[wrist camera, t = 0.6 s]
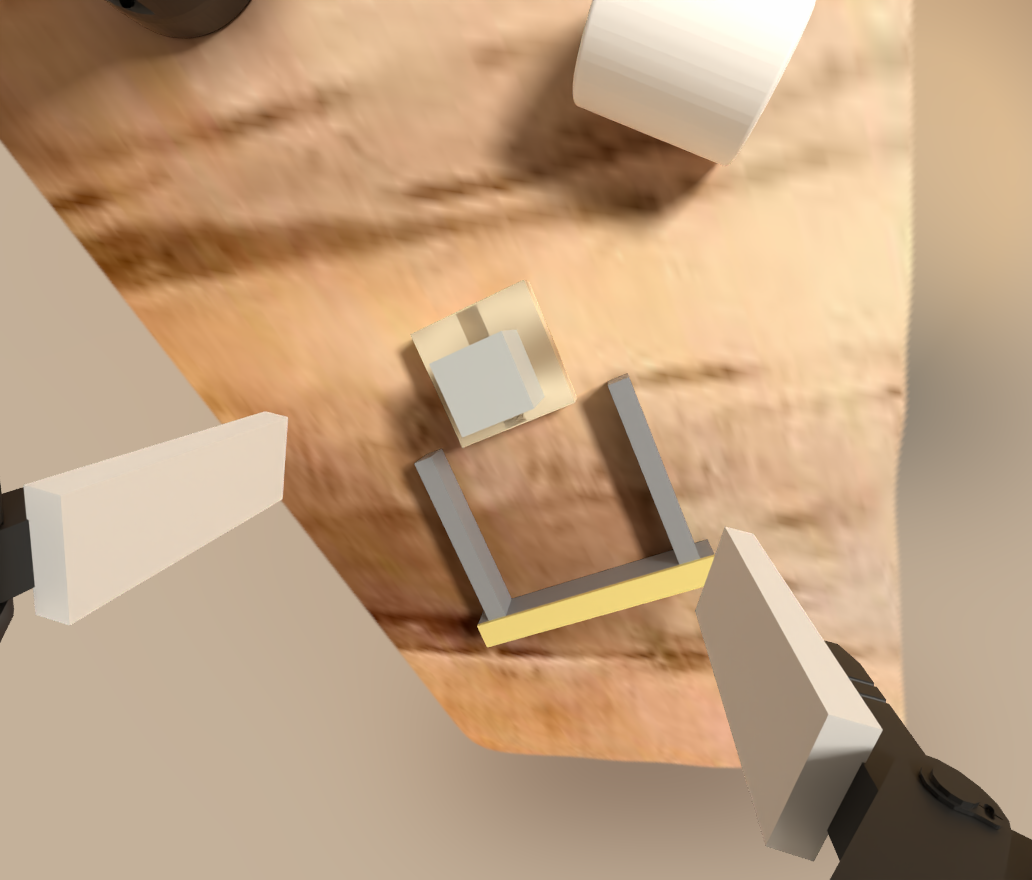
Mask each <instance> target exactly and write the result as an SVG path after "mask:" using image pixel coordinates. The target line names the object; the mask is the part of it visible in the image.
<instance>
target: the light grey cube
mask: <svg viewBox="0 0 1032 880" xmlns="http://www.w3.org/2000/svg"><path fill="white" fill-rule="evenodd" d="M429 365H430V367H431V370H432V372H433V374H434V376H435V379H436V381H437V383H438V385H439V387H440V390H441V392H442V394H443V396H444V398H445V401H446V403H447V405H448V407H449V409H450V412H451V414H452V416H453V418H454V421H455V423H456V425H457V427H458V429H459V432H460V434H461V436H462V438H463V437H465V436H467V435H470V434H472V433H475V432H477V431H480V430H482V429H485V428H487V427H490V426H492V425H495V424H497V423H500V422H502V421H505V420H507V419H509V418H512V417H514V416H517V415H519V414H522V413H524V412H527V411H529V410H532V409H534V408H535V407H536V406H537V405H538V404H539V402H540V401H541V400H542V399H543V398H544V397H545V396H544V393H543V391H542V389H541V386H540V384H539V382H538V379H537V377H536V374H535V372H534V370H533V367H532V365H531V363H530V360H529V358H528V355H527V353H526V351H525V348H524V346H523V344H522V341H521V339H520V336H519V334H518V332H517V329H516V330H505V331H500V332H498V333H496V334H493V335H491V336H489V337H487V338H485V339H482V340H480V341H478V342H476V343H474V344H471V345H469V346H467V347H465V348H463V349H461V350H458V351H456V352H454V353H452V354H450V355H447V356H445V357H443V358H441V359H439V360H436V361H434V362H432V363H430V364H429Z"/></svg>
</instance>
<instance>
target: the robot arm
mask: <svg viewBox="0 0 1032 880" xmlns="http://www.w3.org/2000/svg"><path fill="white" fill-rule="evenodd" d="M105 1H107V2H108V3H109V4H110V5H111V6H113V7H114V8H116V9H117V10H119V11H120V12H122V13H123V14H125V15H126V16H128V17H130V18H131V19H133V20H134V21H136V22H138V23H139V24H141V25H142V26H144V27H146V28H147V29H150V30H152V31H154V32H156V33H159V34H162V35H165V36H169V37H175V38H192V37H198V36H203V35H206V34H209V33H211V32H213V31H216V30H218V29H219V28H221V27H223V26H224V25H226V24H227V23H229V22H230V21H231V20H232V19H233V18H235V17H236V16H237V15H238V14H239V13H240V12H241V10H242V9H243V8H244V7H245V6H246V4H247V3H248V2H249V0H105ZM287 425H288V417H285V416H281V415H277V414H273V413H269V412H262V413H258V414H255V415H252V416H248V417H245V418H242V419H239V420H235V421H232V422H229V423H225V424H222V425H219V426H216V427H212V428H209V429H206V430H203V431H199V432H196V433H193V434H190V435H186V436H183V437H180V438H176V439H173V440H170V441H166V442H164V443H160V444H157V445H154V446H150V447H147V448H143V449H140V450H137V451H134V452H130V453H127V454H124V455H120V456H118V457H114V458H111V459H107V460H104V461H101V462H97V463H94V464H91V465H88V466H84V467H81V468H78V469H75V470H71V471H68V472H65V473H61V474H58V475H55V476H51V477H48V478H45V479H42V480H38V481H35V482H32V483H28V484H25V485H24V487H23V488H19V489H16V490H13V491H10V492H7V493H3V494H1V485H0V642H1V640H2V638H3V636H4V633H5V631H6V630H7V628H8V625H9V623H10V621H11V619H12V617H13V613H14V605H13V597H15V596H17V595H19V594H21V593H23V592H25V591H27V590H29V589H32V588H33V592H34V601H35V614H36V615H39V616H42V617H45V618H48V619H51V620H54V621H57V622H61V623H64V624H67V625H71V624H73V623H74V622H76V621H78V620H80V619H81V618H83V617H85V616H86V615H88V614H90V613H91V612H93V611H95V610H97V609H98V608H100V607H102V606H103V605H105V604H107V603H108V602H110V601H112V600H113V599H115V598H117V597H119V596H120V595H122V594H124V593H125V592H127V591H128V590H130V589H132V588H134V587H135V586H137V585H139V584H140V583H142V582H144V581H145V580H147V579H149V578H150V577H152V576H154V575H156V574H157V573H159V572H161V571H162V570H164V569H166V568H167V567H169V566H171V565H172V564H174V563H176V562H177V561H179V560H181V559H183V558H184V557H186V556H188V555H189V554H191V553H193V552H194V551H196V550H198V549H199V548H201V547H203V546H204V545H206V544H208V543H209V542H211V541H213V540H215V539H216V538H218V537H220V536H221V535H223V534H225V533H226V532H228V531H230V530H231V529H233V528H235V527H236V526H238V525H240V524H241V523H243V522H245V521H247V520H248V519H250V518H252V517H253V516H255V515H257V514H258V513H260V512H262V511H263V510H265V509H267V508H268V507H270V506H272V505H273V504H275V503H277V502H279V501H280V500H282V498H283V483H284V469H285V454H286V440H287ZM695 612H696V615H697V619H698V622H699V625H700V629H701V632H702V635H703V639H704V642H705V645H706V649H707V652H708V656H709V659H710V662H711V666H712V669H713V672H714V676H715V679H716V682H717V686H718V689H719V692H720V696H721V699H722V702H723V706H724V709H725V712H726V716H727V719H728V722H729V726H730V729H731V732H732V736H733V739H734V742H735V746H736V749H737V752H738V756H739V759H740V762H741V766H742V769H743V772H744V776H745V779H746V782H747V786H748V789H749V792H750V795H751V799H752V802H753V806H754V809H755V812H756V816H757V819H758V822H759V826H760V829H761V832H762V835H763V839H764V842H765V846H767V847H770V848H773V849H776V850H779V851H782V852H786V853H789V854H792V855H795V856H798V857H802V858H805V859H808V860H811V861H814V860H815V858H816V856H817V855H818V853H819V851H820V849H821V847H822V845H823V843H824V841H825V839H826V837H827V835H828V834H829V837H830V839H831V841H832V843H833V846H834V848H835V850H836V853H837V855H838V858H839V860H840V862H839V864H838V866H837V868H836V870H835V872H834V873H833V875H832V877H831V879H830V880H1032V840H1031V839H1029V838H1027V837H1025V836H1023V835H1021V834H1019V833H1017V832H1015V831H1013V830H1011V828H1010V823H1009V820H1008V819H1007V817H1006V816H1005V814H1004V813H1003V812H1002V810H1001V809H1000V807H999V806H998V804H997V803H995V801H994V800H993V799H992V798H991V797H990V796H989V795H988V794H987V793H986V792H984V790H983V789H981V788H980V787H979V786H978V785H977V784H975V783H974V782H973V781H971V780H970V779H968V778H967V777H966V776H965V775H963V774H962V773H961V772H959V771H958V770H956V769H954V768H952V767H950V766H949V765H947V764H945V763H943V762H941V761H940V760H938V759H935V758H932V757H929V756H926V755H925V753H924V752H923V751H922V749H921V748H920V747H919V745H918V744H917V742H916V741H915V739H914V738H913V737H912V735H911V734H910V732H909V731H908V730H907V728H906V727H905V726H904V724H903V723H902V721H901V720H900V719H899V717H898V716H897V714H896V713H895V712H894V710H893V709H892V707H891V706H890V705H889V704H887V703H886V699H885V698H884V696H883V695H882V694H881V692H880V691H879V689H878V688H877V687H874V682H873V681H872V680H871V678H870V677H869V675H868V674H867V673H866V671H865V670H864V668H863V667H862V666H861V664H860V663H859V662H858V661H856V660H855V659H854V658H853V657H852V656H851V655H850V654H848V653H847V652H846V651H845V650H844V649H843V648H842V647H840V646H839V645H838V644H835V643H832V642H828V641H824V640H823V638H822V637H821V635H820V634H819V632H818V631H817V629H816V628H815V626H814V625H813V623H812V622H811V620H810V619H809V617H808V616H807V614H806V613H805V611H804V610H803V608H802V607H801V605H800V604H799V602H798V601H797V599H796V598H795V596H794V595H793V593H792V592H791V590H790V588H789V587H788V585H787V584H786V582H785V581H784V579H783V578H782V576H781V575H780V573H779V572H778V570H777V569H776V567H775V566H774V564H773V563H772V561H771V560H770V558H769V557H768V555H767V554H766V552H765V551H764V549H763V548H762V546H761V545H760V543H759V542H758V540H757V538H756V537H755V535H754V534H753V533H749V532H745V531H741V530H737V529H733V528H729V527H725V528H724V531H723V534H722V536H721V539H720V542H719V545H718V548H717V551H716V553H715V556H714V559H713V562H712V565H711V568H710V570H709V573H708V576H707V579H706V582H705V584H704V587H703V590H702V593H701V596H700V599H699V601H698V604H697V607H696V610H695Z"/></svg>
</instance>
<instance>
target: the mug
mask: <svg viewBox="0 0 1032 880" xmlns="http://www.w3.org/2000/svg"><path fill="white" fill-rule="evenodd" d="M815 2H816V0H593V1H592V4H591V7H590V10H589V13H588V17H587V20H586V24H585V27H584V31H583V35H582V38H581V42H580V46H579V51H578V55H577V60H576V66H575V71H574V79H573V100H574V103H575V104H576V105H577V106H578V107H581V108H583V109H586V110H588V111H591V112H593V113H595V114H598V115H600V116H603V117H605V118H608V119H610V120H613V121H615V122H617V123H620V124H622V125H625V126H627V127H630V128H632V129H635V130H637V131H639V132H642V133H644V134H647V135H649V136H652V137H654V138H657V139H659V140H661V141H664V142H666V143H669V144H671V145H674V146H676V147H679V148H681V149H683V150H686V151H688V152H691V153H693V154H696V155H698V156H701V157H703V158H705V159H708V160H710V161H713V162H715V163H718V164H720V165H723V166H728V165H730V164H731V163H732V162H733V160H734V159H735V158H736V156H737V155H738V153H739V152H740V150H741V149H742V147H743V145H744V144H745V142H746V140H747V139H748V137H749V135H750V134H751V132H752V130H753V128H754V127H755V125H756V123H757V121H758V120H759V118H760V116H761V114H762V112H763V111H764V109H765V107H766V105H767V103H768V101H769V99H770V98H771V96H772V94H773V92H774V90H775V88H776V86H777V84H778V82H779V81H780V79H781V77H782V75H783V73H784V71H785V69H786V67H787V65H788V63H789V61H790V59H791V57H792V55H793V53H794V51H795V49H796V47H797V45H798V43H799V40H800V38H801V36H802V34H803V32H804V30H805V28H806V25H807V23H808V21H809V19H810V16H811V14H812V11H813V8H814V5H815Z"/></svg>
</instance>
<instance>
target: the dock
mask: <svg viewBox="0 0 1032 880" xmlns="http://www.w3.org/2000/svg"><path fill="white" fill-rule="evenodd" d="M608 388H609V390H610V393H611V395H612V398H613V400H614V402H615V405H616V407H617V410H618V412H619V415H620V417H621V420H622V422H623V425H624V427H625V430H626V432H627V435H628V437H629V440H630V442H631V445H632V447H633V450H634V452H635V455H636V457H637V460H638V462H639V465H640V467H641V470H642V472H643V475H644V477H645V480H646V482H647V485H648V487H649V490H650V492H651V495H652V497H653V500H654V502H655V505H656V507H657V510H658V512H659V515H660V517H661V520H662V522H663V525H664V527H665V530H666V532H667V535H668V537H669V540H670V542H671V545H672V547H673V550H671V551H668V552H664V553H661V554H658V555H654V556H651V557H648V558H645V559H641V560H638V561H635V562H631V563H628V564H625V565H622V566H618V567H615V568H612V569H608V570H605V571H602V572H598V573H595V574H592V575H589V576H585V577H582V578H579V579H575V580H572V581H569V582H566V583H562V584H559V585H556V586H552V587H549V588H546V589H543V590H539V591H536V592H533V593H529V594H526V595H523V596H519V597H516V598H513V599H511V596H510V594H509V592H508V590H507V588H506V586H505V584H504V581H503V579H502V577H501V575H500V573H499V571H498V568H497V566H496V564H495V562H494V560H493V558H492V556H491V553H490V551H489V549H488V547H487V545H486V543H485V540H484V538H483V536H482V534H481V532H480V530H479V528H478V525H477V523H476V521H475V519H474V517H473V515H472V512H471V510H470V508H469V506H468V504H467V502H466V500H465V497H464V495H463V493H462V491H461V489H460V487H459V485H458V482H457V480H456V478H455V476H454V474H453V472H452V469H451V467H450V465H449V463H448V461H447V459H446V457H445V454H444V452H443V450H442V449H439V450H437V451H434V452H432V453H429V454H427V455H425V456H424V457H422V458H421V459H420V460H418V461H417V462H416V463H414V464H415V466H416V469H417V471H418V473H419V475H420V477H421V479H422V481H423V483H424V485H425V487H426V490H427V492H428V494H429V496H430V498H431V500H432V502H433V504H434V506H435V508H436V511H437V513H438V515H439V517H440V519H441V521H442V523H443V525H444V527H445V529H446V532H447V534H448V536H449V538H450V540H451V542H452V544H453V546H454V548H455V550H456V553H457V555H458V557H459V559H460V561H461V563H462V565H463V567H464V569H465V571H466V574H467V576H468V578H469V580H470V582H471V584H472V586H473V588H474V590H475V592H476V595H477V597H478V599H479V601H480V603H481V605H482V607H483V609H484V611H483V613H482V616H481V618H480V621H479V623H478V625H477V627H478V629H479V631H480V633H481V636H482V638H483V640H484V642H485V644H486V646H487V647H490V646H494V645H498V644H501V643H505V642H508V641H512V640H515V639H519V638H523V637H526V636H530V635H533V634H537V633H540V632H544V631H548V630H551V629H555V628H558V627H562V626H565V625H569V624H573V623H576V622H580V621H583V620H587V619H590V618H594V617H598V616H601V615H605V614H608V613H612V612H615V611H619V610H623V609H626V608H630V607H633V606H637V605H640V604H644V603H648V602H651V601H655V600H658V599H662V598H665V597H669V596H673V595H676V594H680V593H683V592H687V591H690V590H694V589H698V588H701V587H704V584H705V582H706V579H707V576H708V573H709V570H710V568H711V565H712V562H713V559H714V556H715V555H714V553H713V550H712V548H711V546H710V544H709V542H708V539H707V540H704V541H701V542H697V543H694V541H693V539H692V536H691V533H690V531H689V528H688V526H687V523H686V521H685V518H684V516H683V513H682V511H681V508H680V505H679V503H678V500H677V498H676V495H675V493H674V490H673V488H672V485H671V483H670V480H669V477H668V475H667V472H666V470H665V467H664V465H663V462H662V460H661V457H660V455H659V452H658V450H657V447H656V444H655V442H654V439H653V437H652V434H651V432H650V429H649V427H648V424H647V422H646V419H645V416H644V414H643V411H642V409H641V406H640V404H639V401H638V399H637V396H636V394H635V391H634V389H633V386H632V383H631V381H630V378H629V376H628V373H627V374H624V375H622V376H620V377H617V378H615V379H612V380H610V381H608Z"/></svg>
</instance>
